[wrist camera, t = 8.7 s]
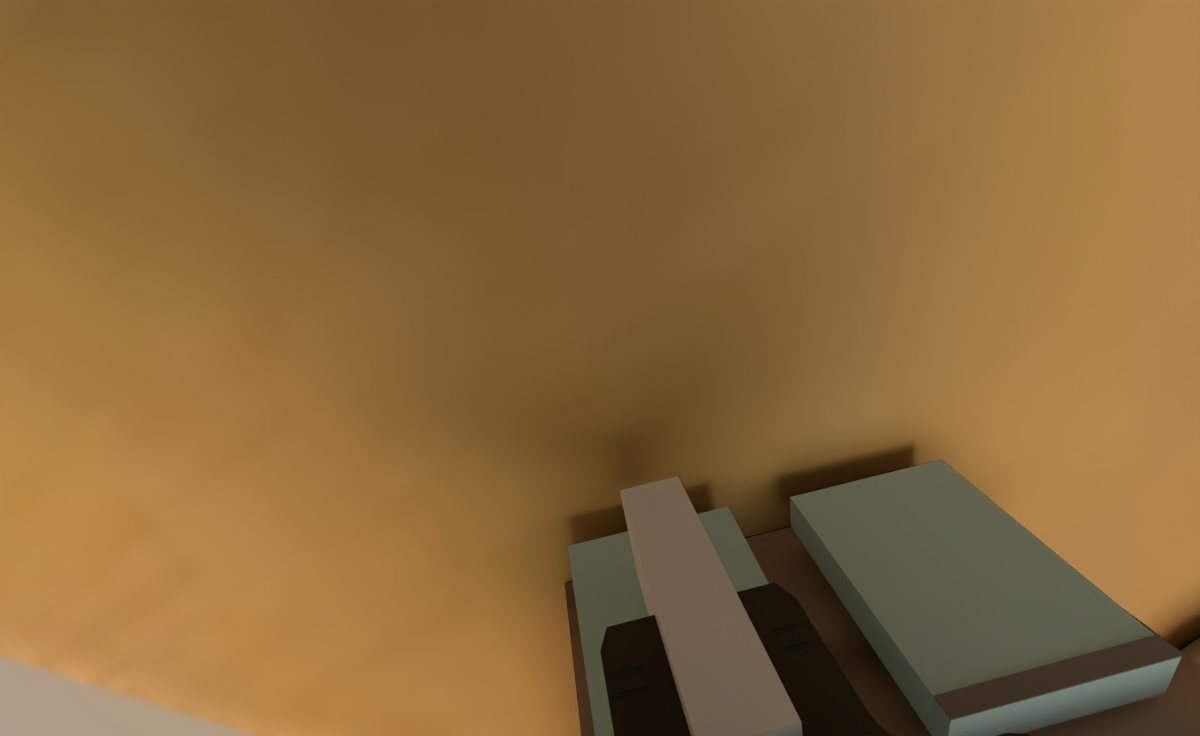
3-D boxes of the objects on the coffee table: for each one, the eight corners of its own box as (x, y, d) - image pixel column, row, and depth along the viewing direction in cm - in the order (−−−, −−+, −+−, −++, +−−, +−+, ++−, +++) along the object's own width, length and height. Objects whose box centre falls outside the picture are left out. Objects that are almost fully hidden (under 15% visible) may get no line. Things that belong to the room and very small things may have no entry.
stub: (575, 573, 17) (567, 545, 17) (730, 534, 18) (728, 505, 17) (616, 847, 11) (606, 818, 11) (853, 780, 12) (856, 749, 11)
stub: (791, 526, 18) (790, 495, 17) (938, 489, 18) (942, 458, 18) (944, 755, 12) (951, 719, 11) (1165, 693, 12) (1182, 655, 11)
